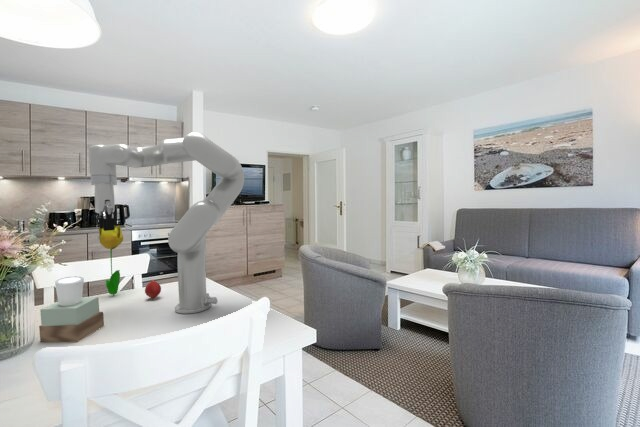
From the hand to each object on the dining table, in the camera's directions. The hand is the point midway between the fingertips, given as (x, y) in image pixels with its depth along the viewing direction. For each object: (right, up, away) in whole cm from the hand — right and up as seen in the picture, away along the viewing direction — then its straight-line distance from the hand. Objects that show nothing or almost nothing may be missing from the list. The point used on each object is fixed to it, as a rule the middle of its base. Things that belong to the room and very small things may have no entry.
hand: (107, 229), depth 113 cm
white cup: (0, -22, -16) cm, 27 cm away
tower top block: (0, -27, -16) cm, 31 cm away
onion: (+8, -29, +17) cm, 35 cm away
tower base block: (0, -32, -15) cm, 35 cm away
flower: (-11, -29, +21) cm, 38 cm away
